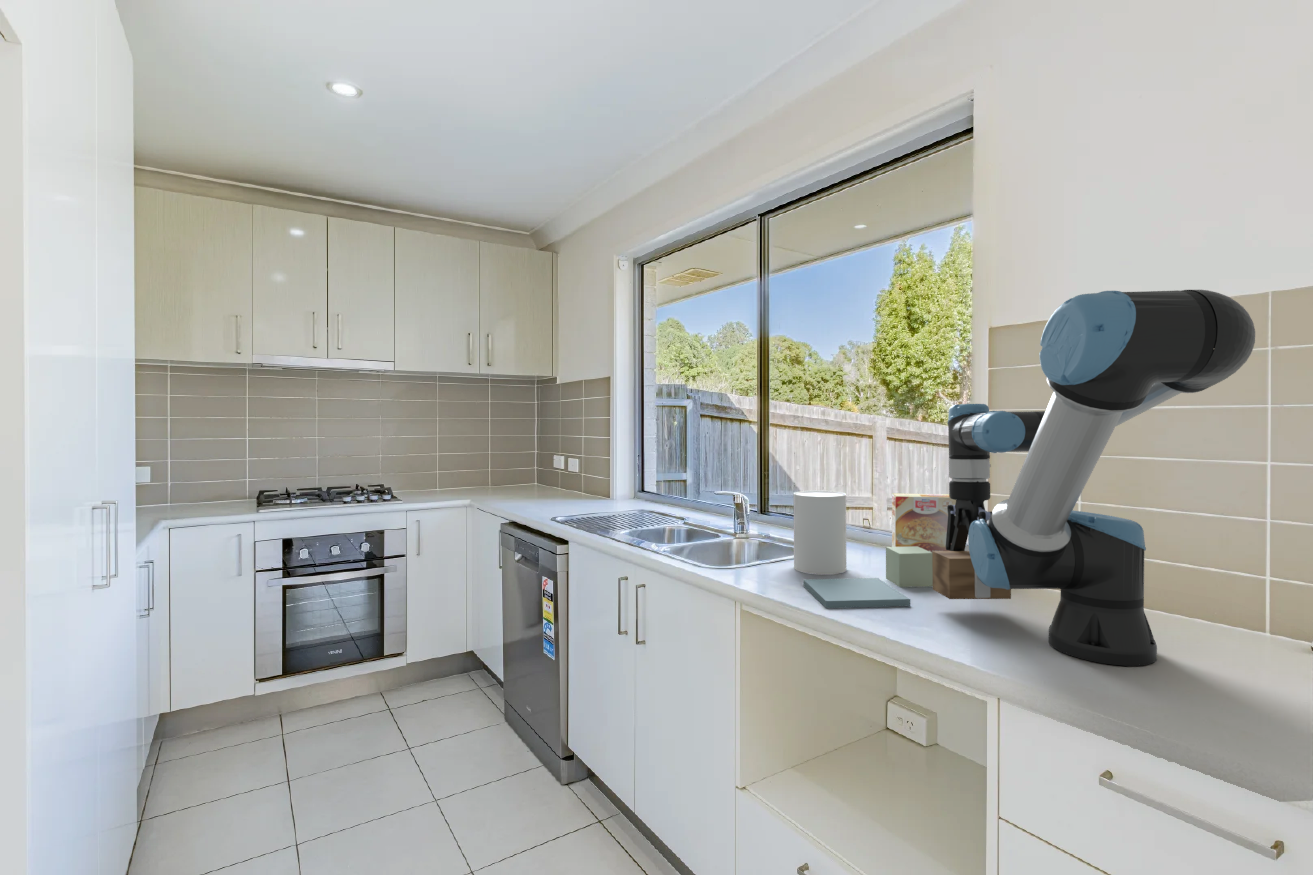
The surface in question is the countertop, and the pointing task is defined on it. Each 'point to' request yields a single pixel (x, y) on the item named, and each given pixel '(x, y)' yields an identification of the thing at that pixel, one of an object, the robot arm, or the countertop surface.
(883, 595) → the base board
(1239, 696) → the countertop surface
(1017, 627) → the countertop surface
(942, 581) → the walnut block
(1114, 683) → the countertop surface
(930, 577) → the sage block
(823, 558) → the canister
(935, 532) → the coffeecake box
